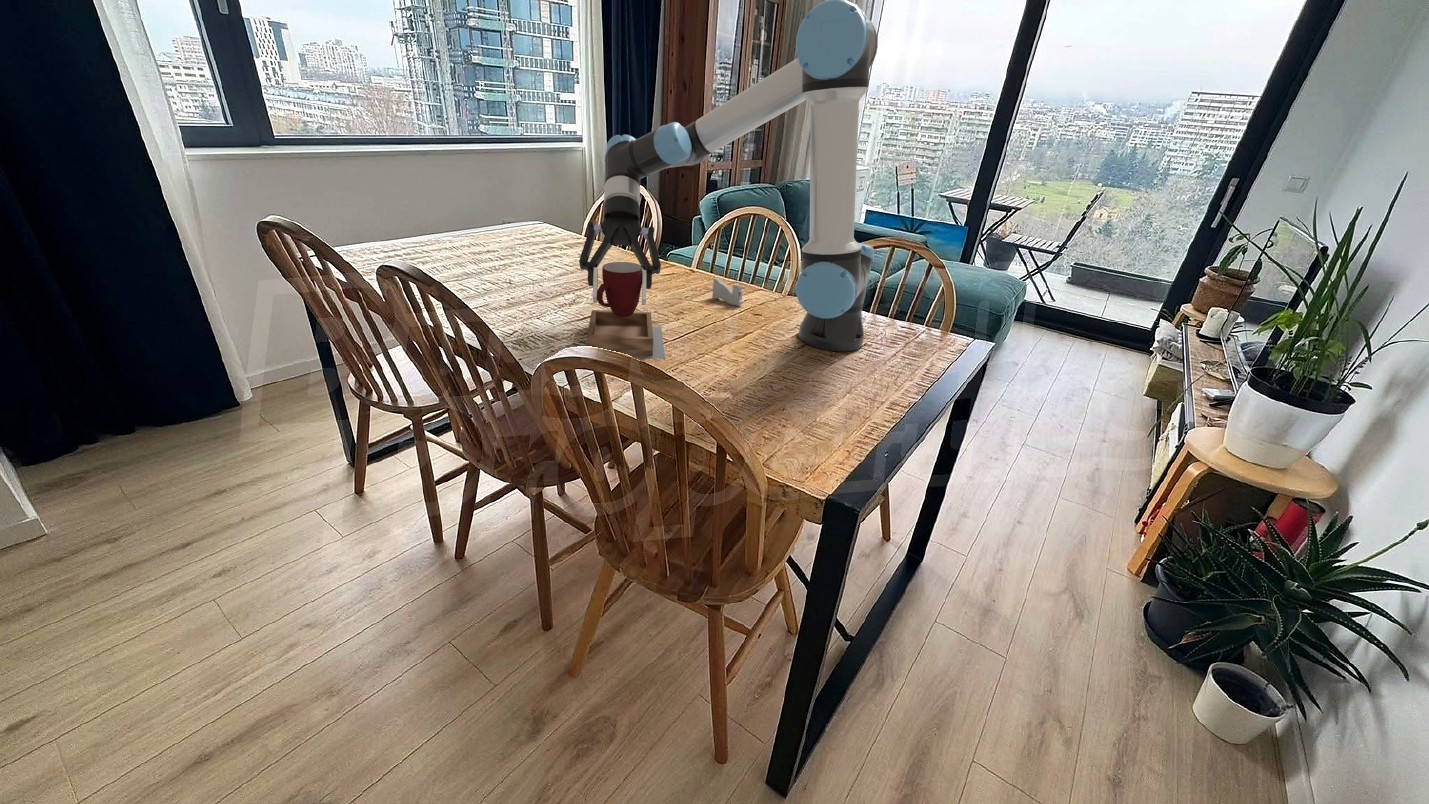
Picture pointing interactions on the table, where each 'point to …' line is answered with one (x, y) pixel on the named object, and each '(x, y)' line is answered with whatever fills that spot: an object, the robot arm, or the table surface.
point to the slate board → (655, 344)
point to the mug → (621, 287)
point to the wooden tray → (621, 332)
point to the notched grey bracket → (727, 292)
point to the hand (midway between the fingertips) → (619, 300)
